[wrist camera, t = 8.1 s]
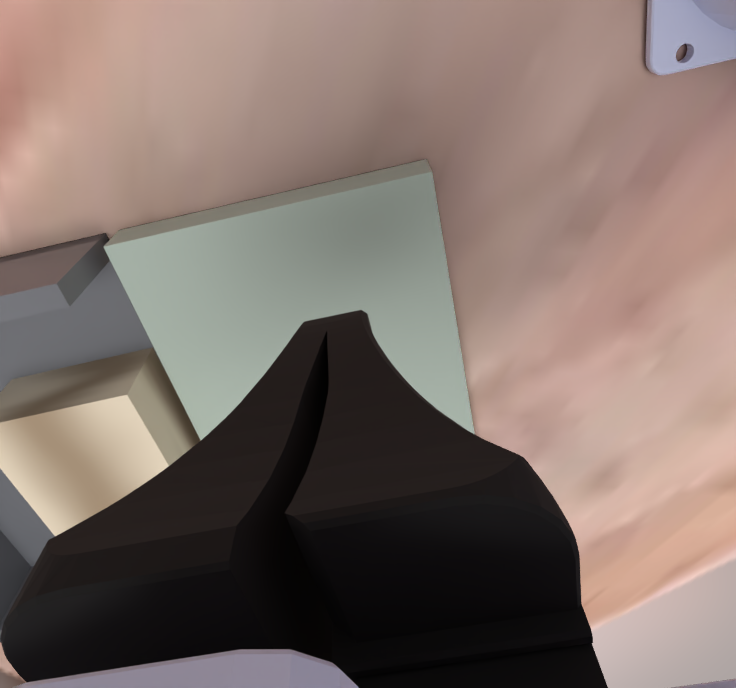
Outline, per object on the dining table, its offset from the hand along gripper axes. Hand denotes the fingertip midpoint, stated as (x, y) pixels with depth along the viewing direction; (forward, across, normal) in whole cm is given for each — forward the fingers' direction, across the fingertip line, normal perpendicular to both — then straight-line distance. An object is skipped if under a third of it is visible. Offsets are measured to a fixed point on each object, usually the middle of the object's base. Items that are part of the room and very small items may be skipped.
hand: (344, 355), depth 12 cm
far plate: (+9, +2, +7) cm, 12 cm away
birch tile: (+9, +12, +7) cm, 16 cm away
